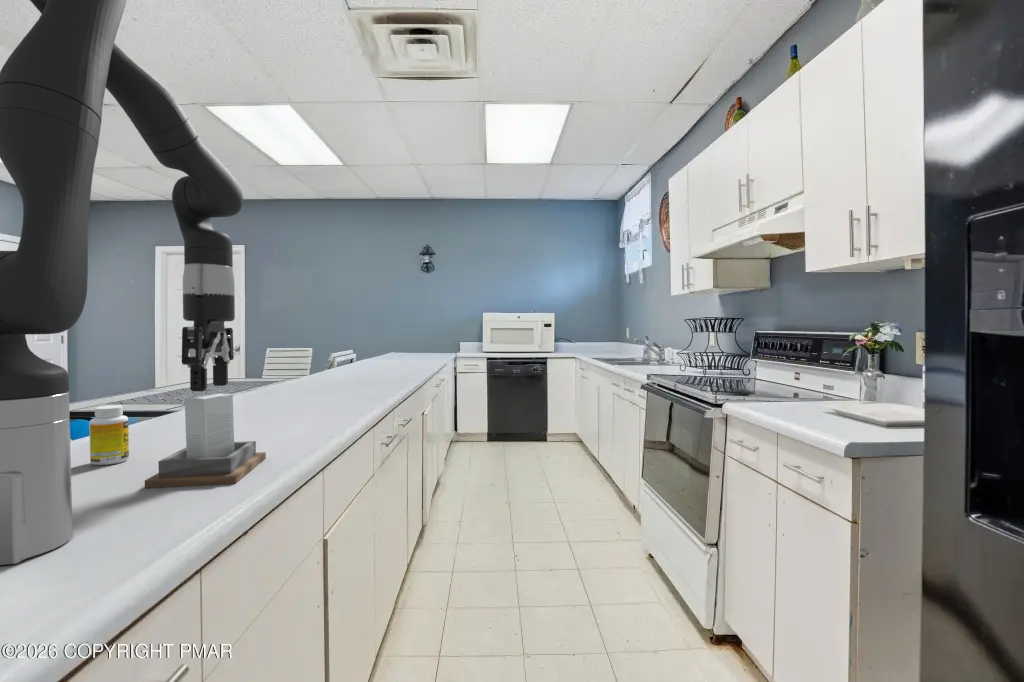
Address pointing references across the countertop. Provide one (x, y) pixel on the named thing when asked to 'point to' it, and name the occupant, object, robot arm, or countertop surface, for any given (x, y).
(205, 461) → the holder
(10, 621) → the countertop surface
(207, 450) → the skincare box
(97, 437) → the supplement bottle
